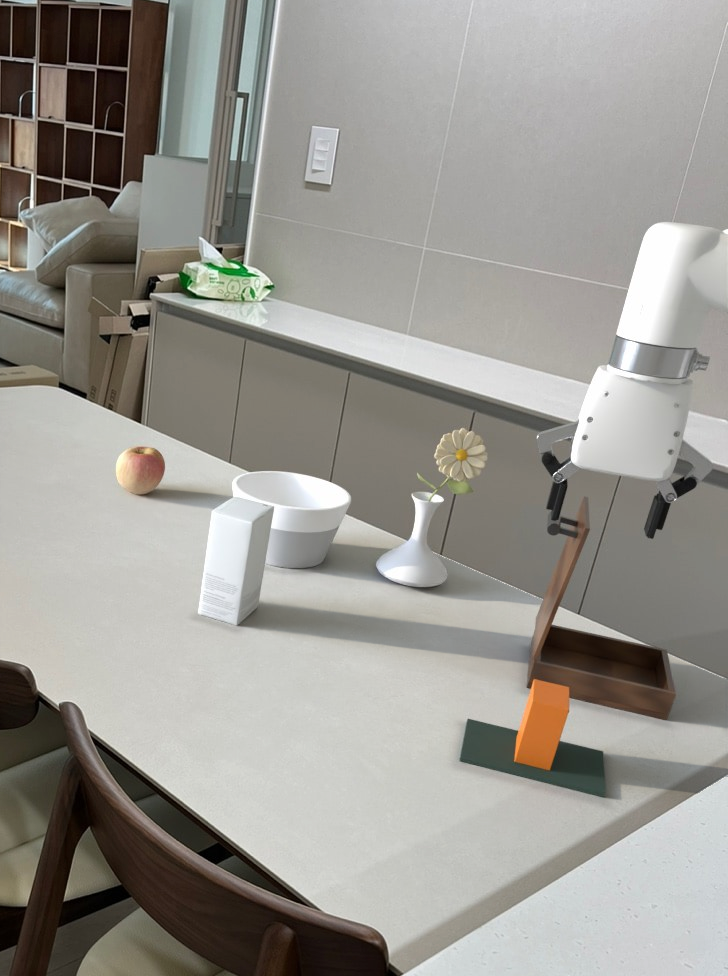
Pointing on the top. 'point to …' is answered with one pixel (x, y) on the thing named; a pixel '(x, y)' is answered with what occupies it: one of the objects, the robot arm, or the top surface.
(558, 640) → the chest
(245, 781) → the top surface
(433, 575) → the flower in vase
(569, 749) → the mat
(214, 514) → the cosmetic box
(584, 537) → the lid
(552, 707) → the orange block
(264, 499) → the bowl
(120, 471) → the apple
